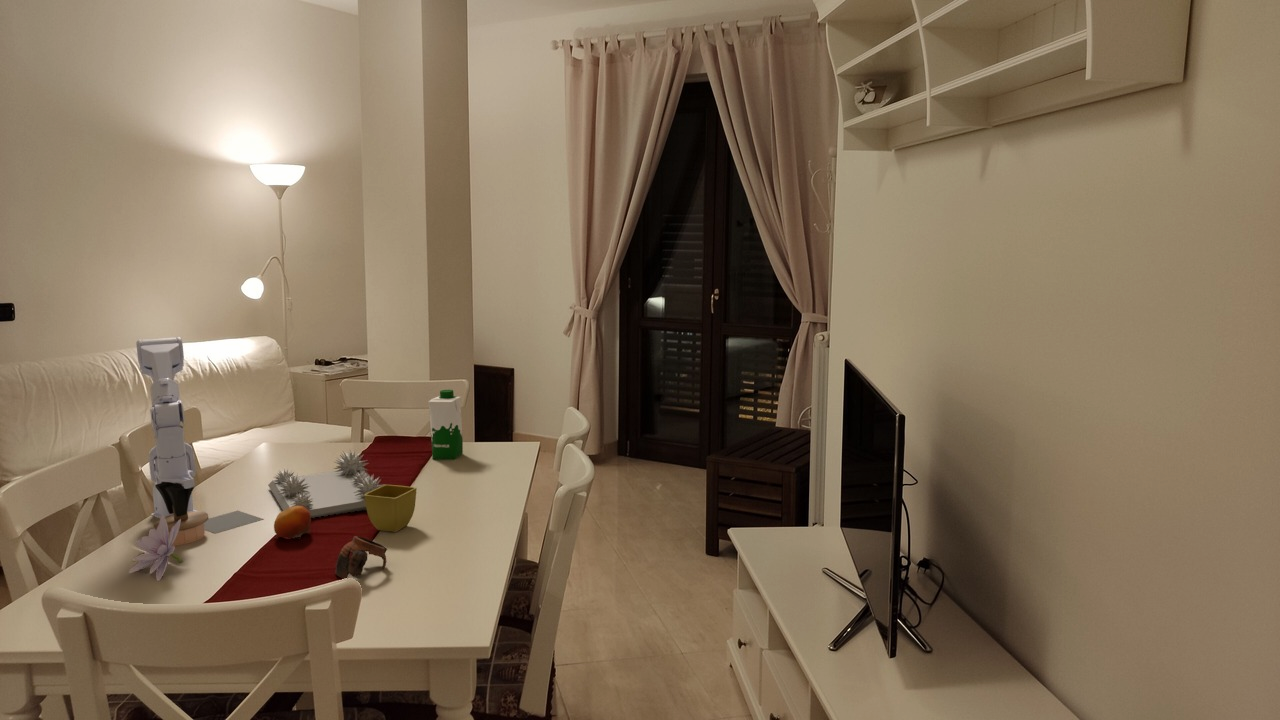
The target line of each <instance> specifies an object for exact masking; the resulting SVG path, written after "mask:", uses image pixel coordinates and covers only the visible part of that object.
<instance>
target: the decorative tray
mask: <svg viewBox="0 0 1280 720" xmlns="http://www.w3.org/2000/svg"><path fill="white" fill-rule="evenodd" d="M362 452H363V451H360V452H359V453H357V455H356V449H353V451H351V450H349V454H348V452H345V451H344V450H342V452H340V457H341V458H338V457H336V460H335V461H334V463H335V464H337V466H335V467H334V468H333V470H332V471H326V472H318V473H313V474H312V473H311V474H305V475H300V476H299V475H298V472H297V474H296V475H295V476H294V472H293V470H291V471H290V472H289V468H287V469H285V468H283V470H279V471H278V472H277V474H278V475H277V474H275V475H276V476H273V477H272V478H273V479H272V481H270V483H268V487H269V489H270V491H271V493H272V494H273V496H274V498H275V499H276V501H277V502H278V504H279V506H280V508H281V509H282V510H281V511H284V510H286V509H288V508H290V507H293V506H303V507H305V508H306V509H307V510H308V511H309V512H310V516H311V518H313V519H316V518H315V517H319V518H322V517H321V516H324V517H329V516H328V515H330V516H334V514H336V515H339V514H341V513H342V514H346V513H348V512H351V513H356V512H355V511H357V512H362V510H363V511H367V508H366V503H365V498H364V495H365V494H366V493H368V492H371V491H373V490H375V489H377V488H379V487H381V486H383V485H386V484H385V483H384V484H380V482H381V481H382V479H381V478H380V476H378V477H377V478H375V479H374V475H373V474H371V476H370V474H368V472H367V471H368V469H367V468H365V467H366V466H367V465H368V464H370V463H369V462H366V461H368V459H366V460H361V459H362V458H363V456H364V454H362ZM337 469H338V470H337ZM379 478H380V479H379Z"/></svg>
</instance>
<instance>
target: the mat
mask: <svg viewBox="0 0 1280 720" xmlns="http://www.w3.org/2000/svg"><path fill="white" fill-rule="evenodd" d="M263 520H264V521H265V519H264V518H261V517H259V516H255V515H252V514H250V513H247V512H244V511H240V510H235V511H231V512H228V513H225V514H224V513H223V514H220V515H217V516H212V517H210V518H209V517H208V520H207V521H206V522H205V523H204V527H205V532H206V531H207V532H210V533H212V534H215V535H216V534H219V533H222V532H223V533H224V532H226V531H229V530H233V529H236V528H240V527H243V526H246V525H249V524H253V523H256V522H260V521H263Z"/></svg>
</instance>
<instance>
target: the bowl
mask: <svg viewBox="0 0 1280 720" xmlns="http://www.w3.org/2000/svg"><path fill="white" fill-rule="evenodd" d="M153 529H155V528H154V527H153ZM205 534H206V530H205V527H204V523H203V524H201V525H199V526H196V527H193V528H190V529H186V530H181V531H178V534H177V536H176V538H175V540H174V542H173V544H172V545H171V546H174V547H175V546H182V545H187V544H191V543H193V542H197V541H199V540H201V539H202V538H204V537H205ZM169 536H170V532H169ZM168 542H169V540H168Z"/></svg>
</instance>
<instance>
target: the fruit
mask: <svg viewBox="0 0 1280 720" xmlns="http://www.w3.org/2000/svg"><path fill="white" fill-rule="evenodd" d="M311 524H312V519H311V516H310V512H309V511H308V510H307V509H306V508H305V507H303V506H293V507H290V508H288V509H286V510H284V511H283V510H281V512H280V513H278V514H277V516H276V518H275V521H274V522H273V530H274V533H275V534H276V535H277V536H278V537H280V538H281V537H288V538H293V539H296V538H295V537H300V538H301V537H302V535H304V534H309V533H308V532H310V529H311Z"/></svg>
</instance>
